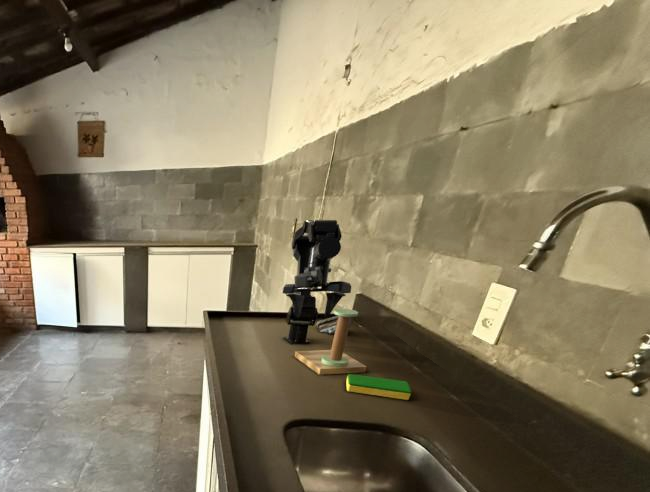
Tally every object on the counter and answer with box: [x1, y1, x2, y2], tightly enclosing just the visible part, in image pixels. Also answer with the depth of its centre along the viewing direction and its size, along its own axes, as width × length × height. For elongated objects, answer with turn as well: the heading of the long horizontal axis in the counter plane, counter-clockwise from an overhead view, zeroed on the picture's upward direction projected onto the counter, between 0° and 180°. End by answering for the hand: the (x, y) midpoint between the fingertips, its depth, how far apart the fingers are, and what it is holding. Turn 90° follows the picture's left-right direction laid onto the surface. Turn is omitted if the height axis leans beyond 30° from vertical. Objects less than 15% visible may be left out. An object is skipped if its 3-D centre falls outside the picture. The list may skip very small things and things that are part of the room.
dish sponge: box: [345, 373, 412, 401], centre depth 109 cm, size 7×14×2 cm, turn 65°
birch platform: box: [294, 349, 368, 376], centre depth 126 cm, size 15×14×2 cm
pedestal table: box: [322, 308, 359, 367], centre depth 120 cm, size 7×7×15 cm
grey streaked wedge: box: [315, 315, 353, 335], centre depth 154 cm, size 10×7×12 cm
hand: (311, 317), depth 127 cm, fingers open, 9 cm apart
